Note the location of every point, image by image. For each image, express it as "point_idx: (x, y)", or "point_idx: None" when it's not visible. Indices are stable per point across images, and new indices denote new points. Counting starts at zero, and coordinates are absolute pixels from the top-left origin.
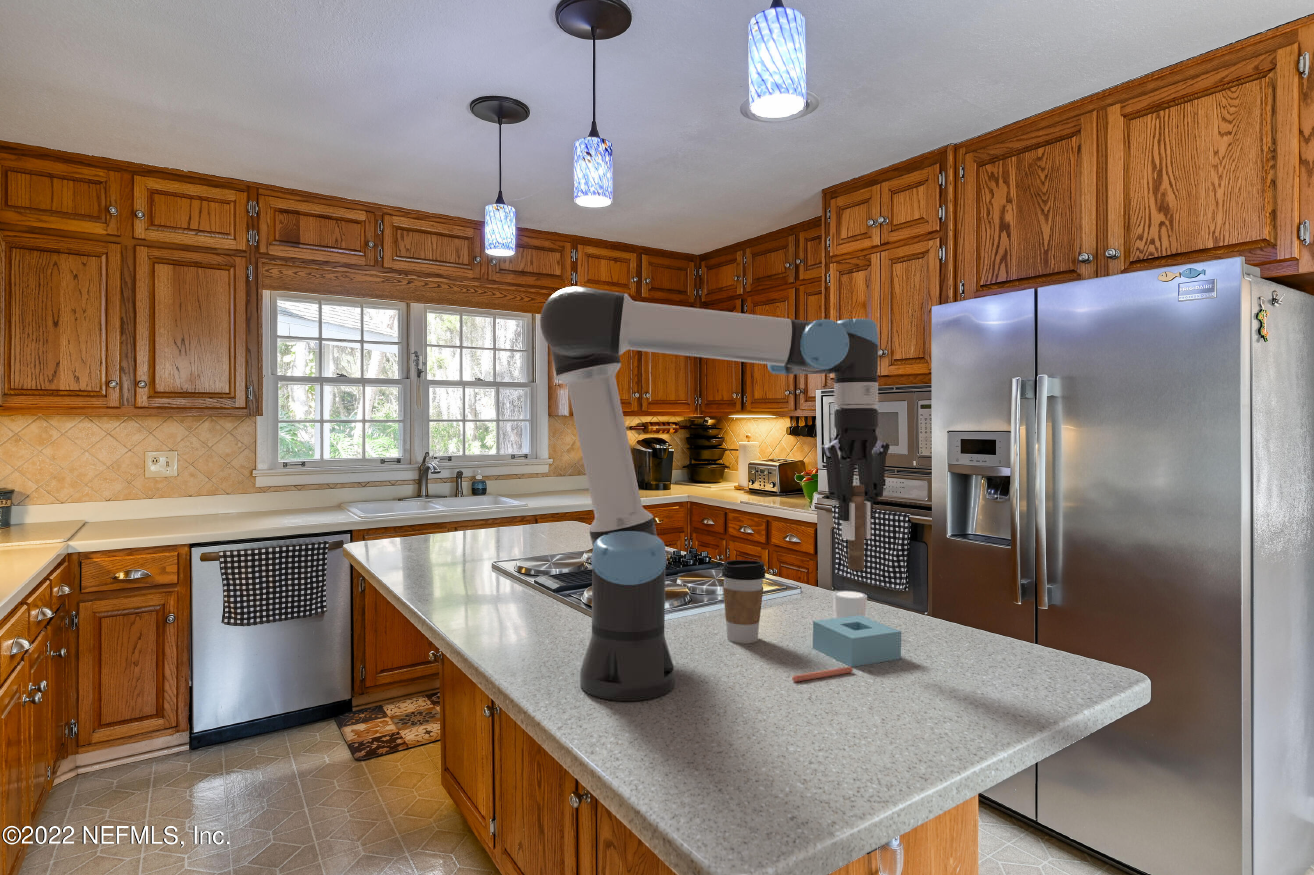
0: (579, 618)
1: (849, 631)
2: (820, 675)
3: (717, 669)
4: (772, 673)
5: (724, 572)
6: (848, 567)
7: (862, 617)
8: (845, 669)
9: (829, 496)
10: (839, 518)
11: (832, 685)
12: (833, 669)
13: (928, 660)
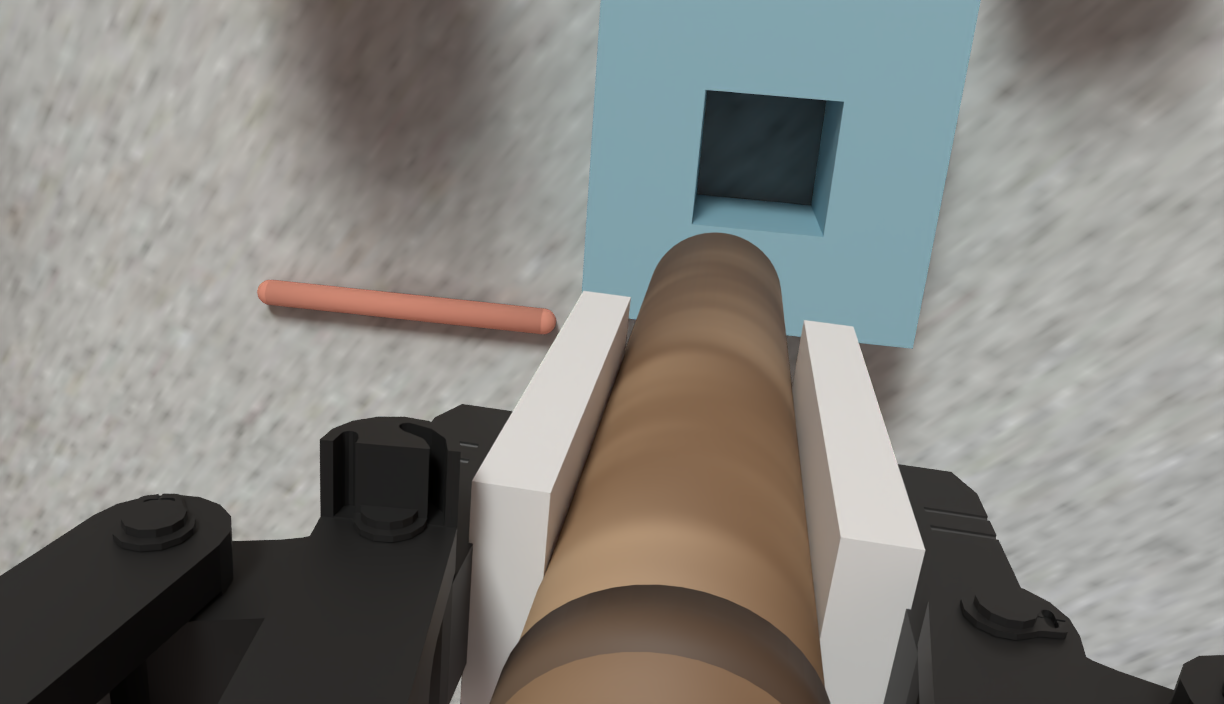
0: None
1: (652, 223)
2: (383, 316)
3: (33, 15)
4: (238, 170)
5: None
6: (655, 268)
7: (947, 42)
8: (511, 329)
9: (105, 526)
10: (443, 421)
11: (391, 381)
12: (454, 316)
13: (990, 372)
